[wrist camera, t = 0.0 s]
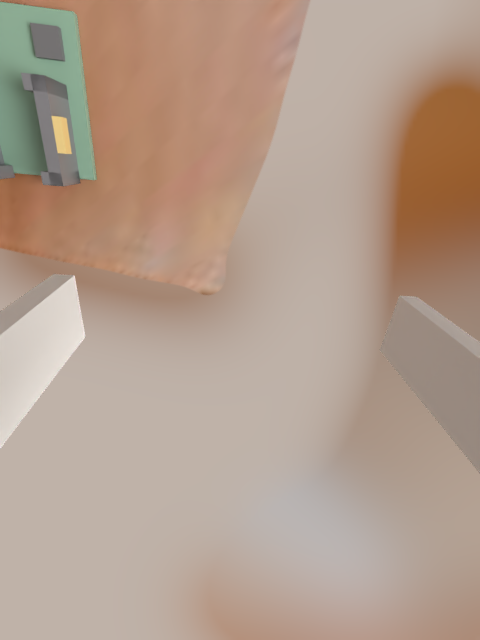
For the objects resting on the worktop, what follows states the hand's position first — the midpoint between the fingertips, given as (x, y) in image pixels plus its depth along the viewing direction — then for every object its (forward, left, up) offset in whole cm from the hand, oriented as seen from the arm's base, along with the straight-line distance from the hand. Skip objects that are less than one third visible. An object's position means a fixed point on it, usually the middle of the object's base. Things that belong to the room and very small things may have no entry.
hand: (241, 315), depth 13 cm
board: (-9, -21, -28) cm, 36 cm away
